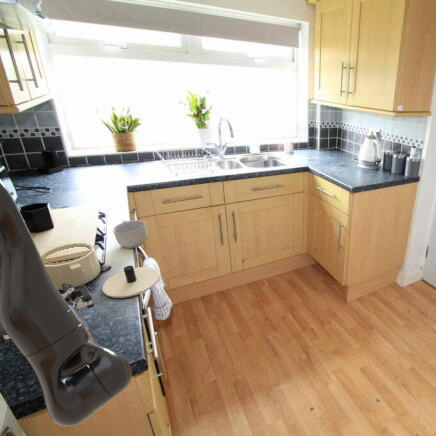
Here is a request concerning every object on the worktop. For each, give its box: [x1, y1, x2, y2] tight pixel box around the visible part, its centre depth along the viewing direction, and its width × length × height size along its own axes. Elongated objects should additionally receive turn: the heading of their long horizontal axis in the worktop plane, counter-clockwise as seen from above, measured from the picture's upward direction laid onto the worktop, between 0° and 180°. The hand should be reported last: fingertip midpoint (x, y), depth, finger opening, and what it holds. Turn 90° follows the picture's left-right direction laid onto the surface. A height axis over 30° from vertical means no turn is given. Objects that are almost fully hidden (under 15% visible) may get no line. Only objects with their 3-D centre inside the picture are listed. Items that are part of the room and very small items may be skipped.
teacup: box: [112, 219, 149, 249], centre depth 123 cm, size 14×11×8 cm
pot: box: [40, 242, 101, 291], centre depth 102 cm, size 15×20×8 cm
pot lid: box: [101, 265, 161, 299], centre depth 100 cm, size 16×16×6 cm
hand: (39, 295), depth 67 cm, fingers open, 8 cm apart
